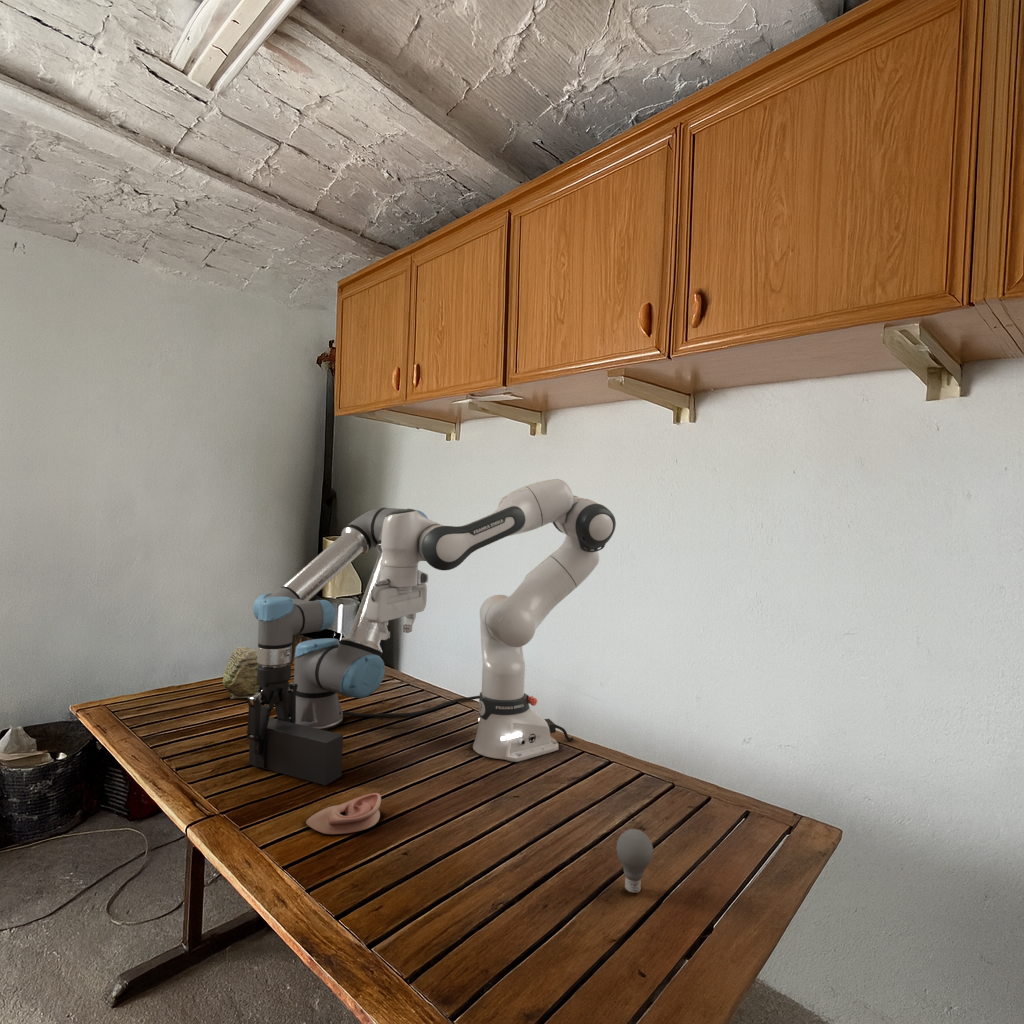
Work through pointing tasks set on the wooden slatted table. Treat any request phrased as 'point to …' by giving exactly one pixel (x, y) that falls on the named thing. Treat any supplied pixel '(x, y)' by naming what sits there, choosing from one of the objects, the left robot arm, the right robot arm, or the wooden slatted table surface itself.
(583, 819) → the wooden slatted table surface
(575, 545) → the right robot arm
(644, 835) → the light bulb
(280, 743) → the bar
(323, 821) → the anatomical model
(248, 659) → the fossil
